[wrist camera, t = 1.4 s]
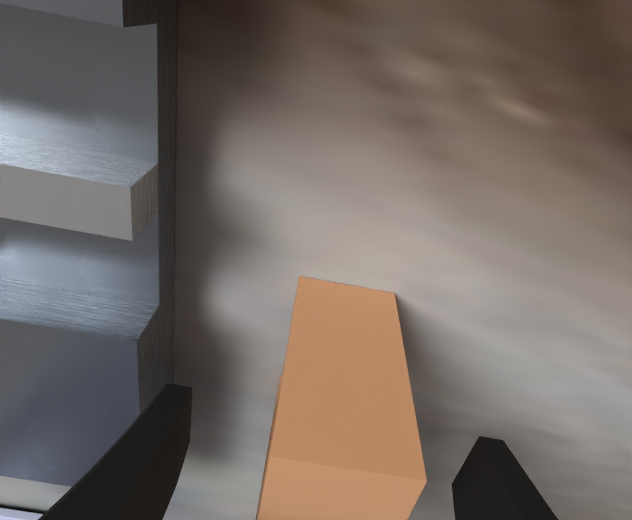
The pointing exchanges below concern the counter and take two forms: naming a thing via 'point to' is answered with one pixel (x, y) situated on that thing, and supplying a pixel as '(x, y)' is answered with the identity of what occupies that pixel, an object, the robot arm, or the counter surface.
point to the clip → (343, 412)
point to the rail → (84, 226)
